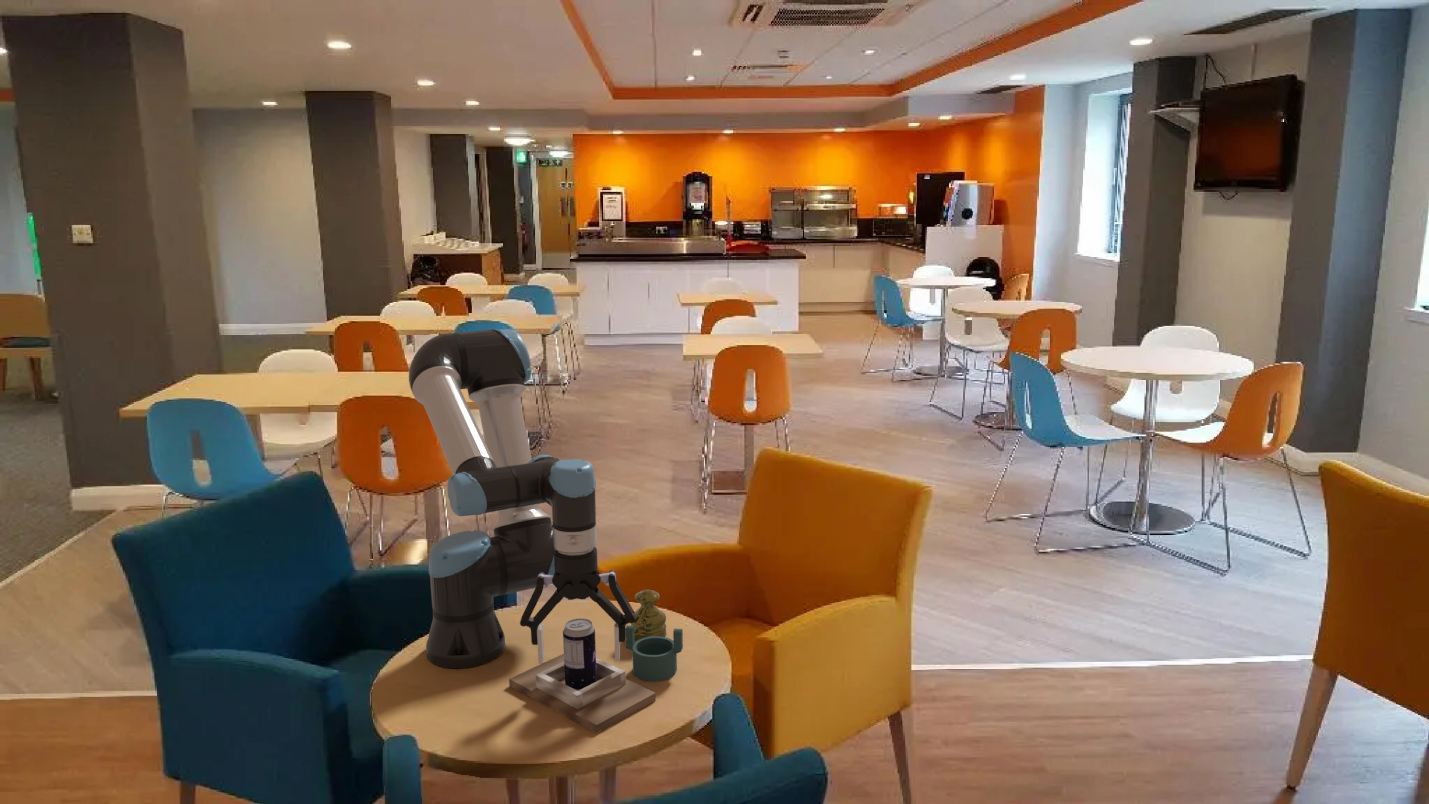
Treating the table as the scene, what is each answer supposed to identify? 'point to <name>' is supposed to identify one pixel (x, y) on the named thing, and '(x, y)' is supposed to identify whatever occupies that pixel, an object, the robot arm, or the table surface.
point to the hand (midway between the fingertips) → (579, 659)
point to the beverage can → (579, 653)
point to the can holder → (584, 693)
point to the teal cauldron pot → (654, 655)
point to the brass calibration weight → (648, 616)
